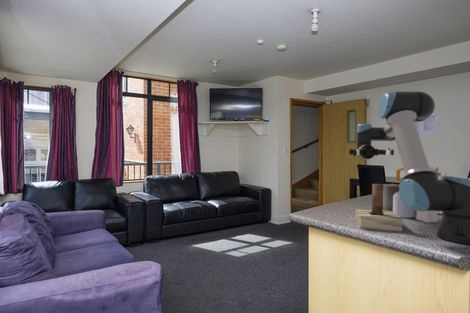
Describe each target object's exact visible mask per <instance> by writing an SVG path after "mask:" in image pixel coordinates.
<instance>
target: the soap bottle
mask: <svg viewBox="0 0 470 313" xmlns="http://www.w3.org/2000/svg"><path fill="white" fill-rule="evenodd" d="M401 171H404V168H403V167H401V168H398V169H396V173H395V174H396V175H395V176H396V181H397V182H400V183H401V182H402V181H403V180H401V179H400V178H401V177H400V175H401ZM393 212H394V213H396V214H397V215H398V216H399V217H401V218H402V219H412V218H413V217H414V212H415V210H410V209H409V208H407V207H406V206H405V205H404V204H403V203H402V201H401V199H400V195H399V192H397V193H395V194H394V195H393Z"/></svg>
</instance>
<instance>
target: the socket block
mask: <svg viewBox="0 0 470 313" xmlns="http://www.w3.org/2000/svg"><path fill="white" fill-rule="evenodd" d="M403 219H404V218H401V217H399V216H398V215H397V214H396V213H394V212H393V211H390V210H383V216H380V215H372V209H355V221H356V223H357V225H358V226H359V228H360V229H362V230H375V231H376V230H379V231H392V232H393V231H395V232H403V224H404V223H403Z"/></svg>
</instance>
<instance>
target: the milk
mask: <svg viewBox="0 0 470 313" xmlns="http://www.w3.org/2000/svg"><path fill="white" fill-rule="evenodd" d="M415 217H416V221H420V222H424V223H437V222H438V211H416V216H415Z"/></svg>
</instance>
